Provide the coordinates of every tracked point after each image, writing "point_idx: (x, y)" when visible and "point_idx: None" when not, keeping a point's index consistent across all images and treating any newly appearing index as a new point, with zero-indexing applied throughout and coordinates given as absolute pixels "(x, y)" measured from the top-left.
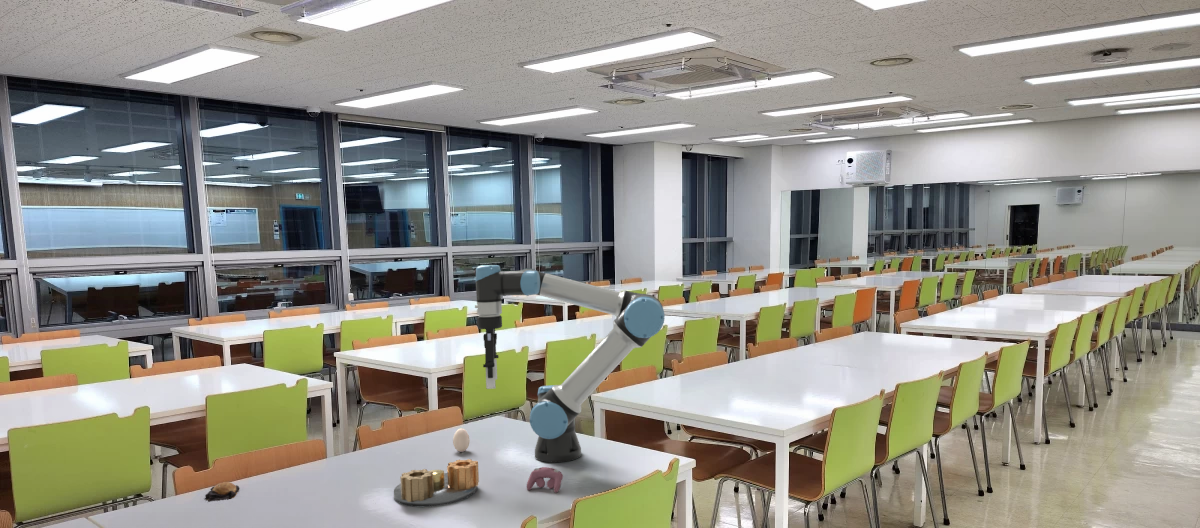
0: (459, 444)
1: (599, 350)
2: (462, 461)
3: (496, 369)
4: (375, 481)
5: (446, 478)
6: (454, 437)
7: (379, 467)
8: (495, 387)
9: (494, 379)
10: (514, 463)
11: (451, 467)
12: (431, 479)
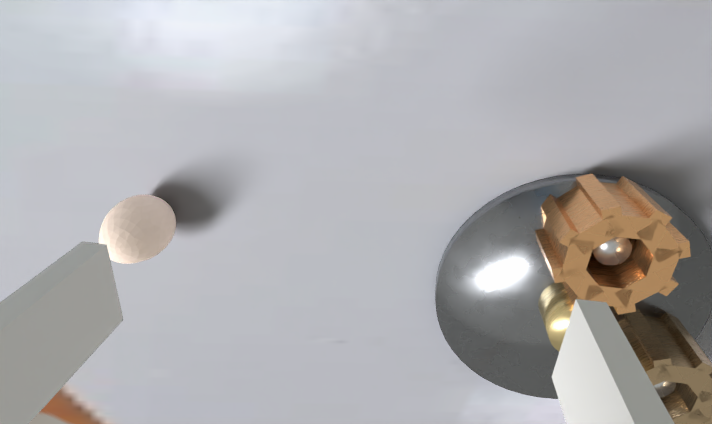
0: (172, 232)
1: None
2: (585, 263)
3: (18, 318)
4: (406, 420)
5: (499, 271)
6: (147, 259)
7: (288, 411)
8: (599, 306)
9: (645, 388)
10: (335, 17)
11: (637, 300)
12: (698, 353)
